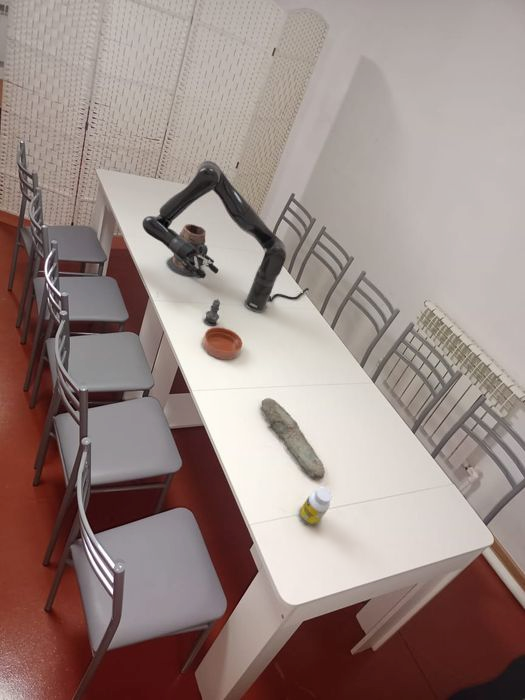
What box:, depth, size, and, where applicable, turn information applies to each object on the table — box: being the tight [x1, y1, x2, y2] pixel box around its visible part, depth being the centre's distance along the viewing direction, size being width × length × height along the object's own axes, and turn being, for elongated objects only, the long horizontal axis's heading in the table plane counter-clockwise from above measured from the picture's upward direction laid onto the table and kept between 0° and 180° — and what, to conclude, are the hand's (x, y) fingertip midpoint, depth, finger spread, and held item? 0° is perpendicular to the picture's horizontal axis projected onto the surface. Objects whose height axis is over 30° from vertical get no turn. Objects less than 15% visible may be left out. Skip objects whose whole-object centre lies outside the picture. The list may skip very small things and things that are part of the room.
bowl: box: [202, 326, 243, 360], centre depth 192 cm, size 15×15×4 cm
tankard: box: [167, 223, 208, 279], centre depth 224 cm, size 24×17×20 cm
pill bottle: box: [299, 487, 333, 526], centre depth 142 cm, size 6×6×12 cm
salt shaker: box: [203, 298, 221, 327], centre depth 201 cm, size 6×6×12 cm
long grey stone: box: [260, 397, 326, 480], centre depth 166 cm, size 35×5×10 cm
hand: (211, 274), depth 196 cm, fingers open, 8 cm apart
